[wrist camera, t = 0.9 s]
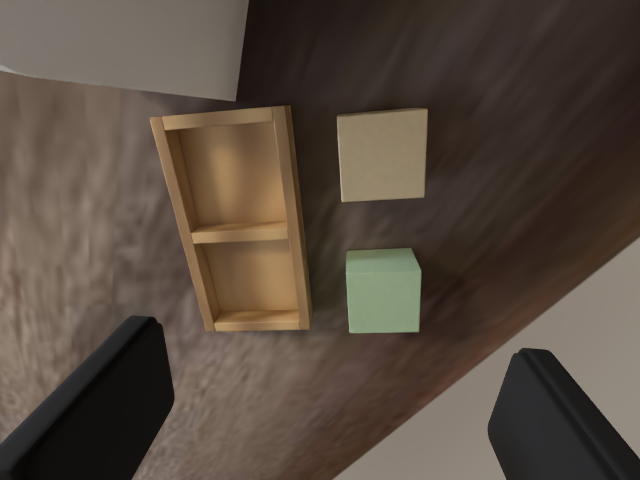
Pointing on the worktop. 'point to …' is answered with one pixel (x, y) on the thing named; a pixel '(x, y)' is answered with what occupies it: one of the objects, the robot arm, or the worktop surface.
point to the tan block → (382, 154)
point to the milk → (128, 43)
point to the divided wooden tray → (239, 215)
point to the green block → (383, 290)
